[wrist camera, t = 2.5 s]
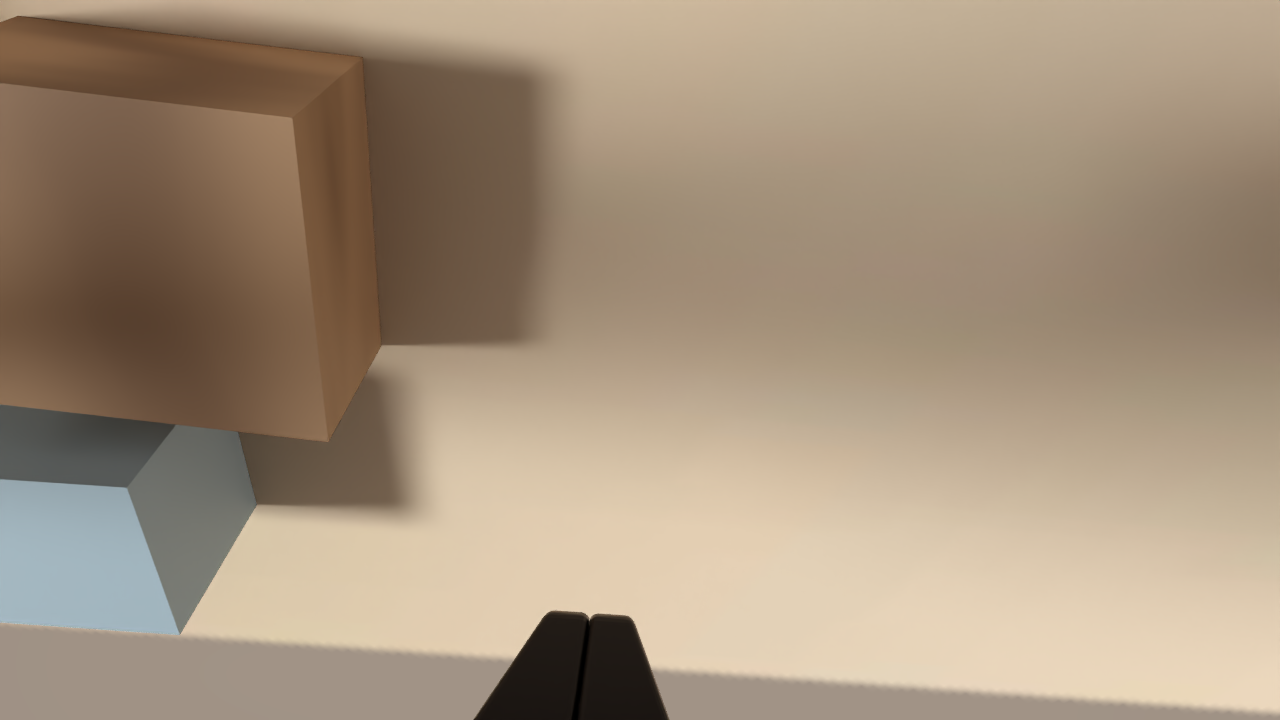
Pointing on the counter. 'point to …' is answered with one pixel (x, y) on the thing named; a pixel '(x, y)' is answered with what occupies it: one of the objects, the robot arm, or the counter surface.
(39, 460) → the block
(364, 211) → the brown square block
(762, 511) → the counter surface
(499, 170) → the counter surface
